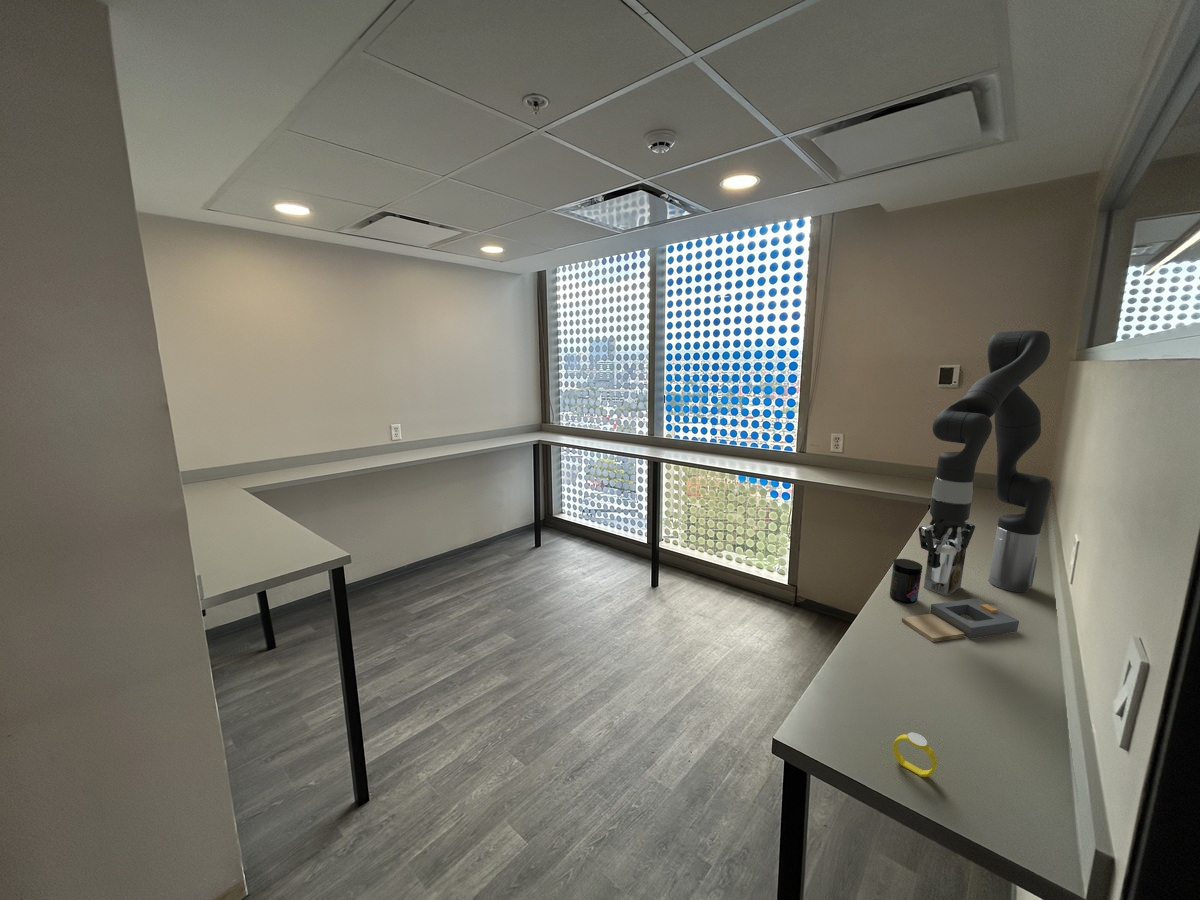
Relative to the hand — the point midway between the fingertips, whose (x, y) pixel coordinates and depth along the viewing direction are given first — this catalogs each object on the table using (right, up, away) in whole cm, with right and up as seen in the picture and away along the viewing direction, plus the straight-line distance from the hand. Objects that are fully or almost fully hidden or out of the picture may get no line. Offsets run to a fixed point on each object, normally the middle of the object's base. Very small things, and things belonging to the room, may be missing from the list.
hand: (941, 565), depth 115 cm
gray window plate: (+12, -16, +6) cm, 21 cm away
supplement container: (+2, -14, +18) cm, 23 cm away
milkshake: (0, -4, +1) cm, 4 cm away
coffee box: (+17, -12, +24) cm, 32 cm away
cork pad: (0, -16, +3) cm, 17 cm away
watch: (-30, -25, -36) cm, 53 cm away
